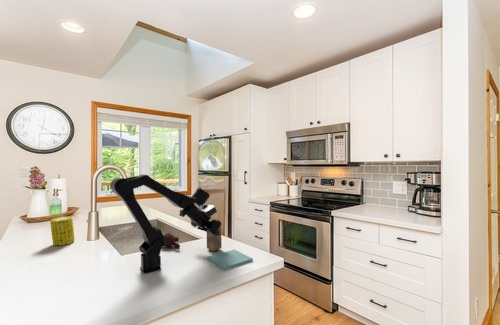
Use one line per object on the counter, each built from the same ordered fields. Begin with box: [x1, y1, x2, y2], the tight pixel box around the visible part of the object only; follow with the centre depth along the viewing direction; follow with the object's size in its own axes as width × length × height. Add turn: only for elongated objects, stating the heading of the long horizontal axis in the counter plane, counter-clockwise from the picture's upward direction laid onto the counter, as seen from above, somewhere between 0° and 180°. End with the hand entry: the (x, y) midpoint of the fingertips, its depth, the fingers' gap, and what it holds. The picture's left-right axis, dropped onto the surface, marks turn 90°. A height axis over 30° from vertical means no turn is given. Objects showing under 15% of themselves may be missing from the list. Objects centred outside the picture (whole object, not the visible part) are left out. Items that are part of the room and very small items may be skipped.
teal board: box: [206, 249, 254, 271], centre depth 108 cm, size 14×14×1 cm
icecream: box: [162, 232, 181, 249], centre depth 127 cm, size 7×7×15 cm
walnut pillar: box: [206, 224, 222, 252], centre depth 121 cm, size 5×5×12 cm
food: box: [50, 215, 76, 246], centre depth 135 cm, size 15×12×10 cm
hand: (216, 233), depth 122 cm, fingers closed on walnut pillar, 5 cm apart
